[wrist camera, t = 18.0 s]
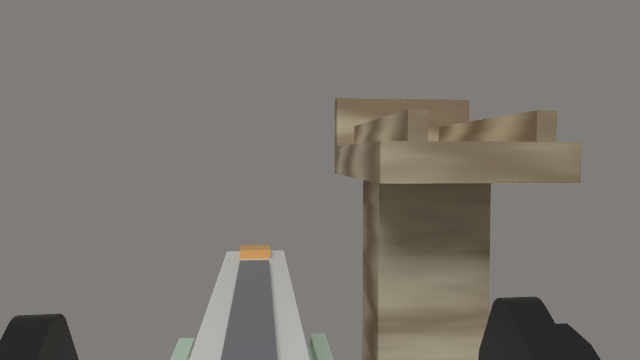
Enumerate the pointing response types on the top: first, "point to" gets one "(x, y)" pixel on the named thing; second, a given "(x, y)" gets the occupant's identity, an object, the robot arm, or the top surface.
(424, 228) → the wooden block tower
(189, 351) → the stand
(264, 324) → the power strip
